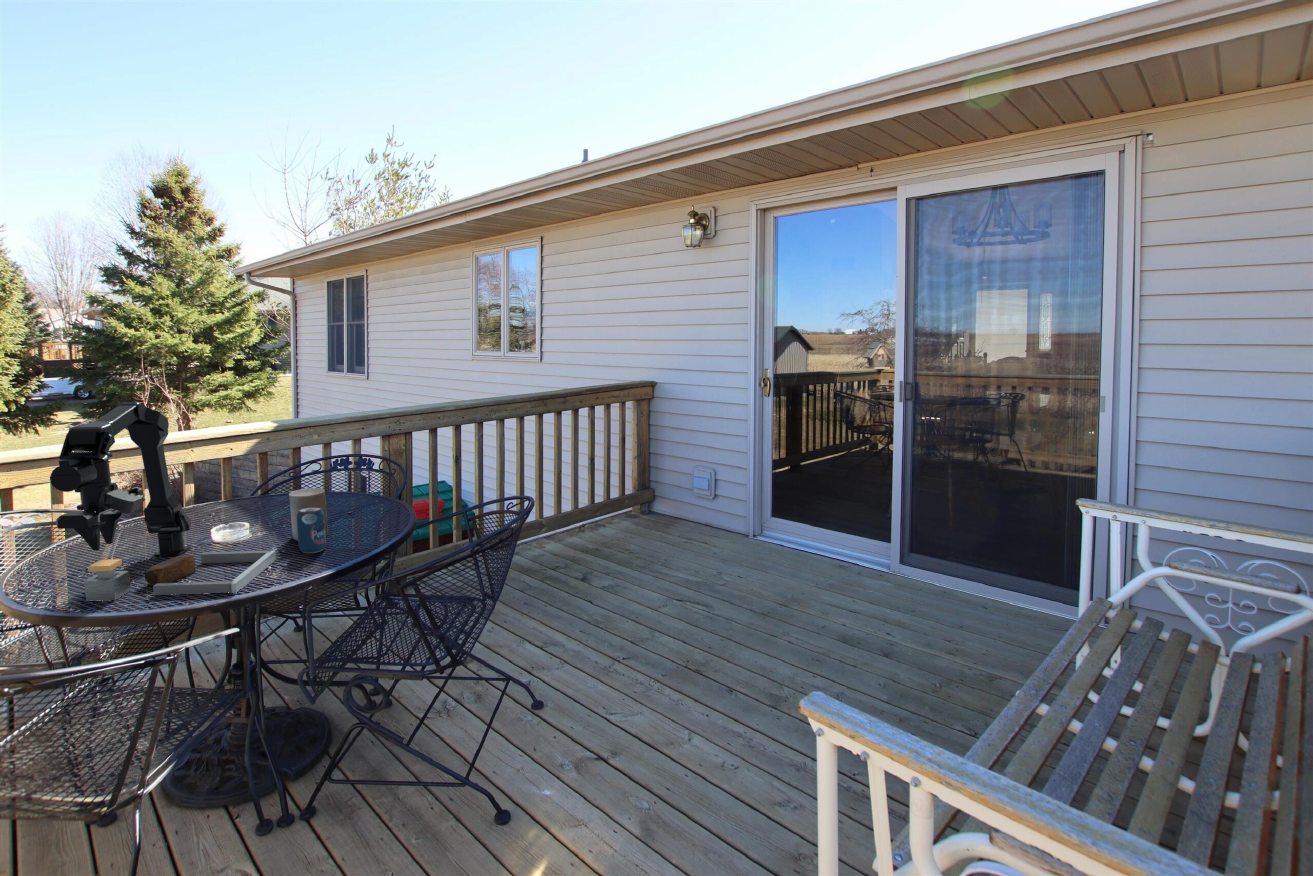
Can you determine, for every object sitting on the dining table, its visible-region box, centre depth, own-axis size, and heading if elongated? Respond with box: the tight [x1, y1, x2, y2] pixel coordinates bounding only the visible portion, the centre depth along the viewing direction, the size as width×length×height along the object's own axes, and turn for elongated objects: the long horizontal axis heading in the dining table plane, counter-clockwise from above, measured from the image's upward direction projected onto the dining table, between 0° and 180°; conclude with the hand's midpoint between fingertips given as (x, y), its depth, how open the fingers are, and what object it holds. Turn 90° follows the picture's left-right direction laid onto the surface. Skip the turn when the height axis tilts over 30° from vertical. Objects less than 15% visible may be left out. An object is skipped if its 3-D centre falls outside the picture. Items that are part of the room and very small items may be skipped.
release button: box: [88, 558, 123, 579], centre depth 161 cm, size 4×4×5 cm
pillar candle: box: [288, 487, 329, 541], centre depth 206 cm, size 10×10×15 cm
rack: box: [152, 550, 277, 596], centre depth 175 cm, size 24×18×2 cm
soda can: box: [297, 506, 327, 554], centre depth 195 cm, size 7×7×12 cm
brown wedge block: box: [143, 554, 196, 586], centre depth 173 cm, size 11×4×5 cm, turn 167°
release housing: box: [83, 570, 132, 602], centre depth 161 cm, size 6×6×5 cm
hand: (103, 547), depth 160 cm, fingers open, 4 cm apart
